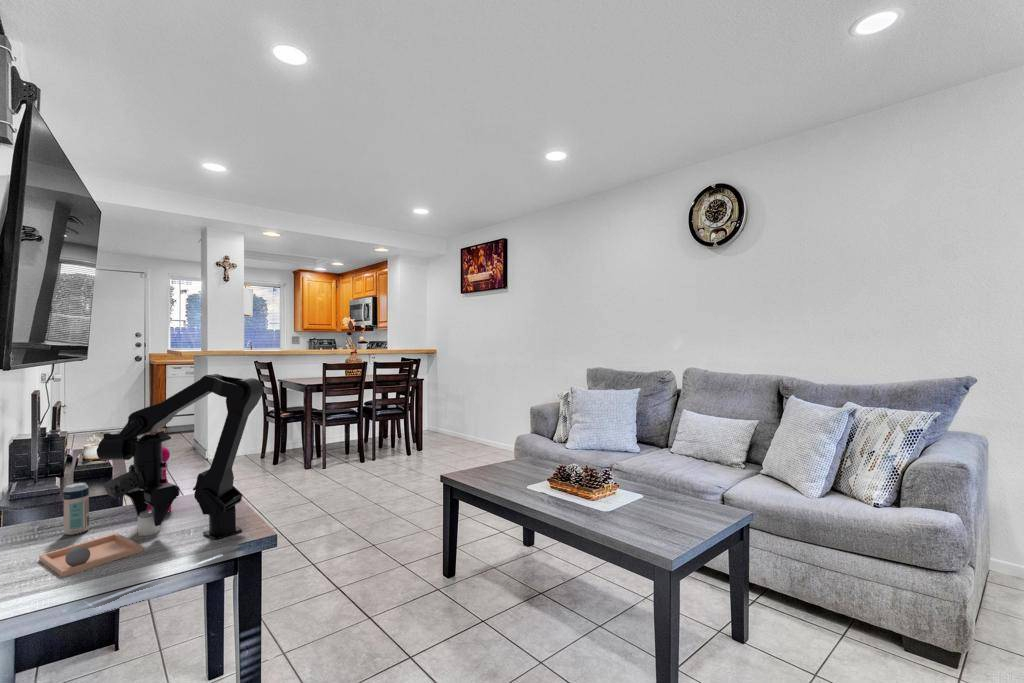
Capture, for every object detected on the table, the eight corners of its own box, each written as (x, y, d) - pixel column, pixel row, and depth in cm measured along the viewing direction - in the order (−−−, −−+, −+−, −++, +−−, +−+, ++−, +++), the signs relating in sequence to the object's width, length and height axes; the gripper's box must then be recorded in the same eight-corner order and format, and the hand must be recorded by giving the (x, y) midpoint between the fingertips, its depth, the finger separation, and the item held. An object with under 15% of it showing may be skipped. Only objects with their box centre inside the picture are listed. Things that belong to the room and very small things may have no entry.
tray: (143, 553, 111) (143, 546, 111) (62, 579, 99) (62, 571, 99) (117, 539, 119) (117, 532, 119) (39, 562, 107) (39, 555, 107)
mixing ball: (93, 564, 105) (93, 545, 105) (69, 572, 102) (69, 552, 101) (86, 559, 107) (86, 541, 107) (62, 567, 104) (62, 548, 104)
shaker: (163, 533, 123) (162, 510, 122) (142, 539, 119) (142, 516, 119) (155, 529, 125) (154, 507, 125) (134, 535, 121) (134, 513, 121)
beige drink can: (81, 527, 126) (80, 481, 126) (93, 529, 125) (92, 483, 124) (59, 534, 122) (58, 486, 121) (71, 537, 120) (70, 488, 120)
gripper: (92, 461, 120) (93, 525, 120) (125, 473, 110) (126, 542, 110) (145, 452, 129) (146, 510, 129) (180, 461, 119) (181, 525, 119)
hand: (149, 521), depth 122 cm, fingers open, 9 cm apart
